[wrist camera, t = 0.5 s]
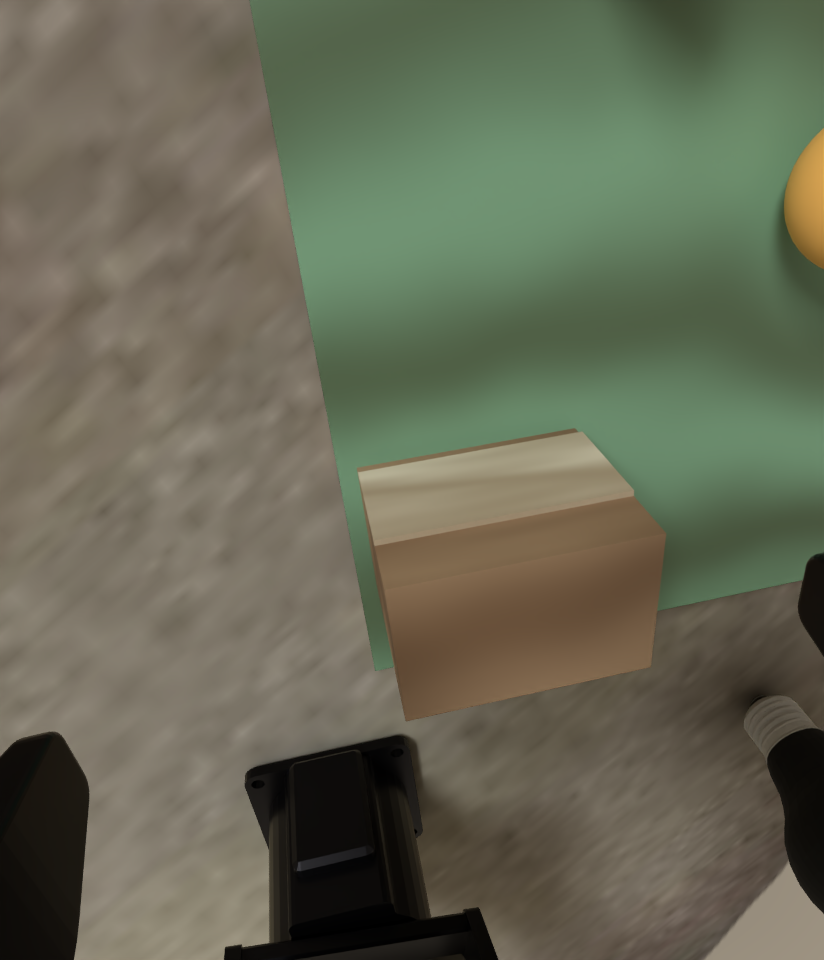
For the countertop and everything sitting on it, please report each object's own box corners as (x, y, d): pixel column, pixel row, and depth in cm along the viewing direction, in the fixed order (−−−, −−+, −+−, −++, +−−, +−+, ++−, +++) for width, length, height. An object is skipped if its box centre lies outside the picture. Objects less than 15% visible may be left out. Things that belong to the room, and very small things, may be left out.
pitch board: (932, 502, 26) (990, 539, 24) (365, 618, 24) (375, 670, 22) (1162, -136, 16) (1294, -167, 14) (242, -40, 14) (238, -60, 12)
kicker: (571, 545, 21) (650, 666, 16) (376, 584, 20) (405, 721, 16) (575, 423, 18) (667, 527, 14) (355, 463, 18) (383, 583, 14)
